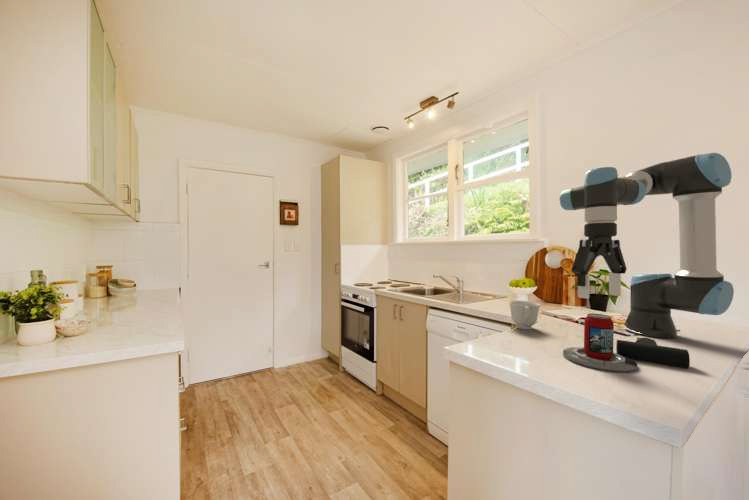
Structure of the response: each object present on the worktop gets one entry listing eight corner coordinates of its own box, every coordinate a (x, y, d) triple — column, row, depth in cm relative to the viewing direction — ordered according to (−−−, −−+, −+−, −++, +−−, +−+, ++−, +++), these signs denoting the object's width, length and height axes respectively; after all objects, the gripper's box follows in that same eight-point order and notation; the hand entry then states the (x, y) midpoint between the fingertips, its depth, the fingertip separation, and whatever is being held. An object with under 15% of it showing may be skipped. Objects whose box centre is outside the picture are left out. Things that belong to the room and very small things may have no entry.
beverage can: (595, 361, 83) (596, 317, 83) (578, 352, 90) (578, 312, 90) (619, 361, 83) (620, 318, 83) (600, 352, 90) (600, 312, 90)
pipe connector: (614, 332, 98) (678, 340, 90) (614, 348, 99) (678, 358, 90) (618, 341, 89) (689, 352, 80) (617, 359, 89) (689, 371, 81)
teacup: (510, 331, 116) (510, 305, 116) (506, 323, 130) (506, 299, 130) (545, 335, 112) (545, 308, 112) (537, 325, 126) (537, 301, 126)
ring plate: (587, 348, 98) (587, 342, 98) (651, 367, 82) (651, 361, 82) (549, 354, 91) (550, 348, 91) (611, 376, 76) (611, 369, 76)
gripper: (613, 225, 94) (613, 292, 95) (557, 222, 85) (556, 297, 86) (642, 223, 87) (641, 296, 88) (583, 220, 78) (583, 301, 79)
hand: (599, 296), depth 87 cm, fingers open, 13 cm apart
